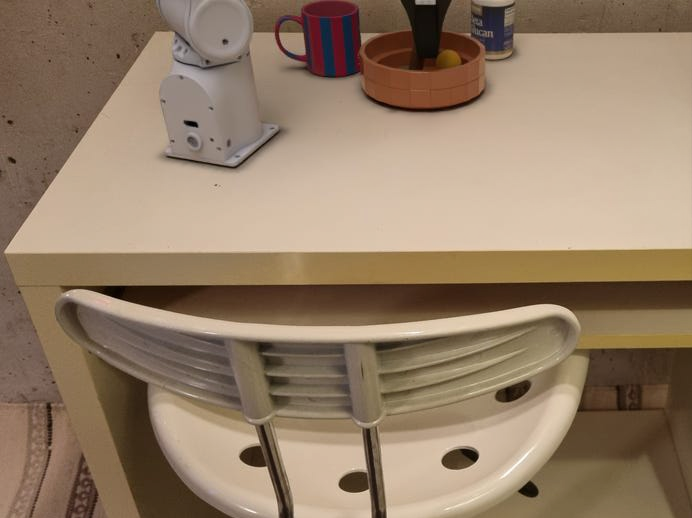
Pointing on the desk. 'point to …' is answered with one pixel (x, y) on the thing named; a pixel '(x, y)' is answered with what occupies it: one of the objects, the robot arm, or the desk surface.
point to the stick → (414, 61)
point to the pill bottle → (493, 26)
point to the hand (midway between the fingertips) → (427, 54)
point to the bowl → (421, 71)
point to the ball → (448, 60)
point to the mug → (328, 37)
